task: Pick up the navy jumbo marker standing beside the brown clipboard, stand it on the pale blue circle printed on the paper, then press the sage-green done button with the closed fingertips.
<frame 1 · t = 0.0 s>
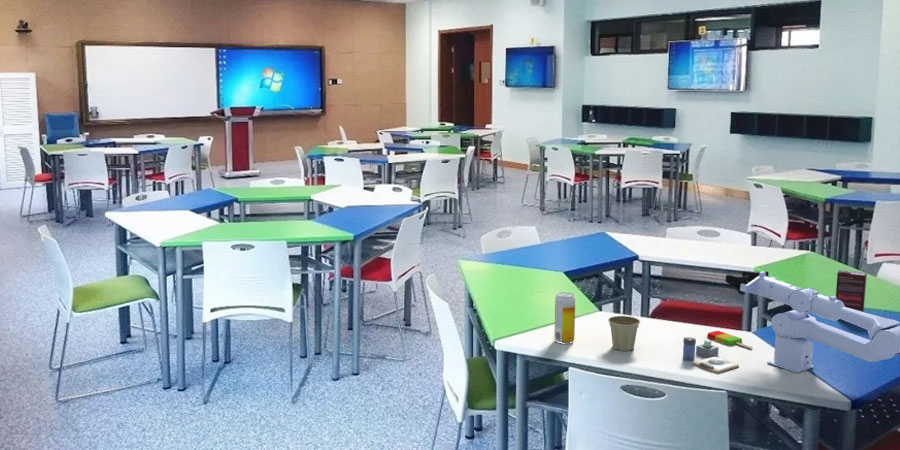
hand: (734, 276, 229), 22 cm above the table, tool horizontal, fingers open, 7 cm apart
done button: (707, 344, 225), point 3 cm above the table, slide at 0.0 cm
flower pot: (623, 348, 231), on the table
clipboard: (715, 365, 216), on the table
supplement box: (848, 318, 260), on the table
button housing: (707, 354, 225), on the table
popsicle: (731, 344, 236), on the table
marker: (688, 359, 221), on the table
beer can: (564, 342, 237), on the table
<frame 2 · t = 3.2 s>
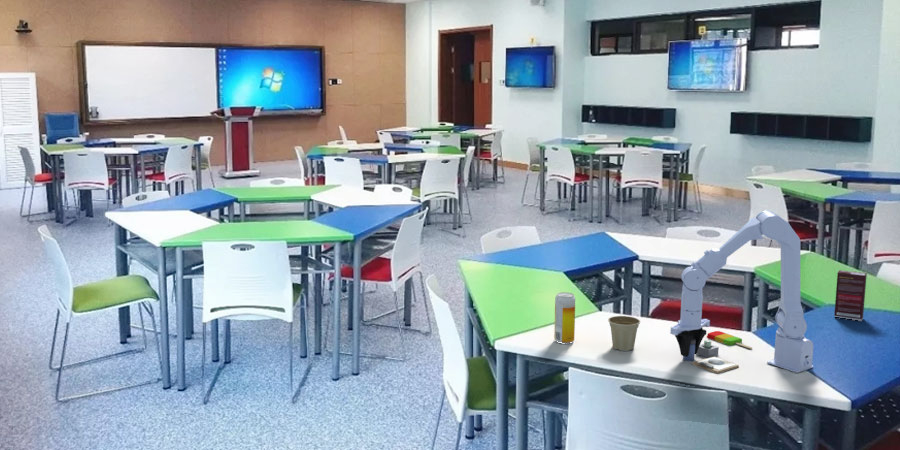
hand: (688, 354, 221), 1 cm above the table, tool pointing down, fingers closed on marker, 3 cm apart
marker: (688, 359, 221), on the table, touching gripper
everything else where it was.
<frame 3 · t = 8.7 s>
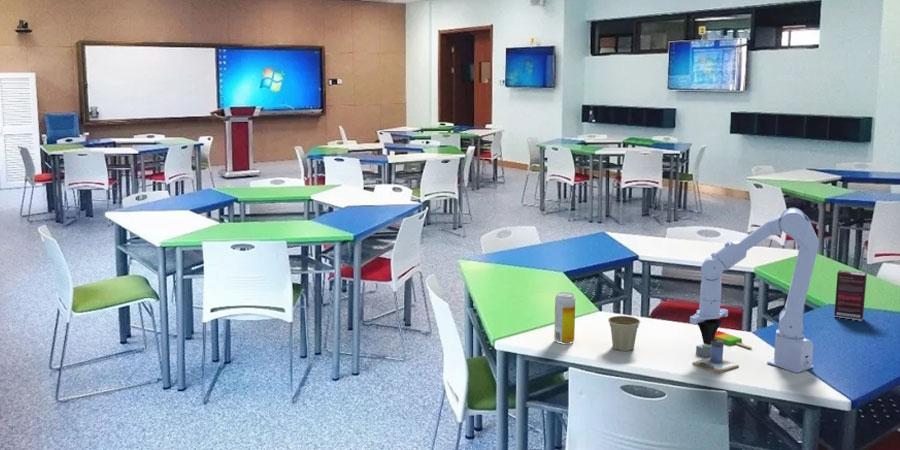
hand: (707, 343, 225), 3 cm above the table, tool pointing down, fingers closed, pressing on done button
done button: (707, 346, 225), point 2 cm above the table, slide at -0.7 cm, touching gripper
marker: (716, 361, 217), point 1 cm above the table, touching clipboard
everything else where it was.
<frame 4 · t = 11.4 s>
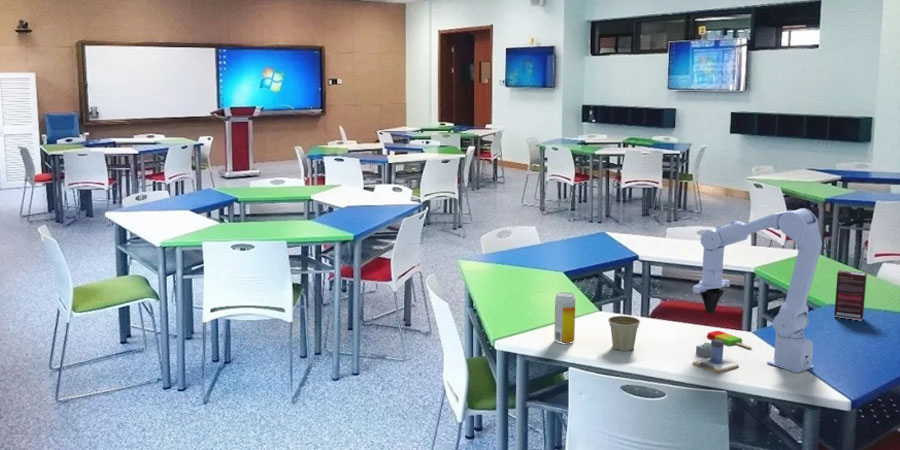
hand: (709, 312, 233), 10 cm above the table, tool pointing down, fingers closed
done button: (707, 347, 225), point 2 cm above the table, slide at -0.8 cm
everything else where it was.
at the end: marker 0.0 cm from the target spot on the clipboard, point 0.8 cm above the clipboard's base; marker tilted 0°; done button slide at -0.8 cm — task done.
